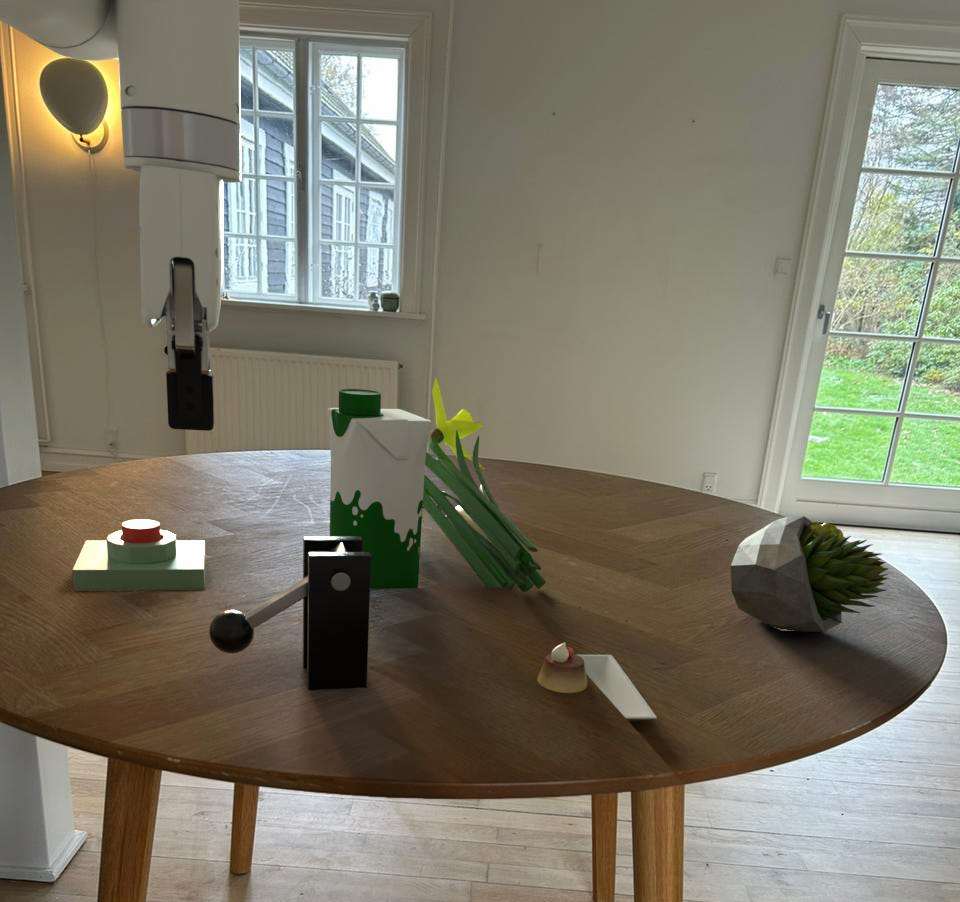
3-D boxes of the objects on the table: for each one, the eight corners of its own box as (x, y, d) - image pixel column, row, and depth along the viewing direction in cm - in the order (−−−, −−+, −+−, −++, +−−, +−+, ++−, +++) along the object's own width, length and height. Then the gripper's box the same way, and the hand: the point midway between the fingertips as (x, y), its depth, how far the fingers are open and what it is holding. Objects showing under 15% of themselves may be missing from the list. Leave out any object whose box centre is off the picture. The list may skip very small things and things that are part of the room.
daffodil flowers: (425, 611, 90) (323, 453, 114) (514, 656, 100) (403, 503, 124) (533, 483, 86) (404, 347, 109) (615, 544, 96) (480, 408, 119)
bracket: (257, 720, 64) (254, 565, 59) (252, 669, 72) (250, 528, 67) (419, 712, 67) (428, 564, 63) (398, 663, 75) (405, 529, 71)
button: (121, 545, 87) (119, 528, 86) (124, 535, 90) (123, 519, 90) (159, 545, 88) (158, 528, 87) (161, 535, 91) (160, 519, 91)
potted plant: (767, 565, 100) (911, 561, 91) (741, 659, 95) (891, 665, 86) (735, 494, 92) (889, 481, 83) (705, 592, 87) (866, 591, 78)
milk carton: (318, 578, 94) (320, 385, 86) (396, 571, 98) (404, 386, 91) (349, 606, 87) (354, 398, 79) (431, 597, 91) (443, 399, 84)
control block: (73, 591, 85) (69, 551, 83) (87, 560, 93) (84, 523, 92) (204, 590, 88) (203, 551, 86) (205, 559, 97) (204, 524, 95)
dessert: (610, 666, 78) (617, 615, 76) (655, 731, 67) (665, 674, 65) (476, 664, 76) (481, 613, 74) (501, 731, 65) (507, 672, 63)
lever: (226, 668, 65) (199, 634, 63) (225, 650, 67) (200, 618, 66) (366, 583, 65) (343, 548, 63) (360, 569, 68) (338, 535, 66)
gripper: (135, 155, 65) (148, 409, 72) (107, 128, 51) (126, 444, 58) (241, 168, 67) (243, 415, 74) (240, 146, 53) (243, 449, 60)
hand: (191, 427), depth 66 cm, fingers closed
